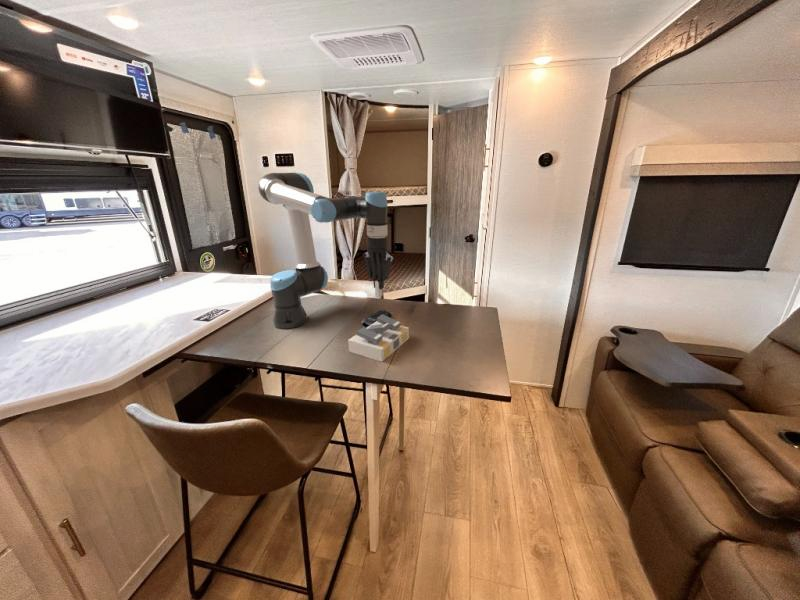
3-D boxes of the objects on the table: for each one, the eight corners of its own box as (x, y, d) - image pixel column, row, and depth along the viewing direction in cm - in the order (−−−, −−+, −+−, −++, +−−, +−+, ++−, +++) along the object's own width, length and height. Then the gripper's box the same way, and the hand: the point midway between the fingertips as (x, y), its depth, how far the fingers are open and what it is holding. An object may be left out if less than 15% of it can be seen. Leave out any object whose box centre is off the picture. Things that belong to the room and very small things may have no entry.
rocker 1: (356, 334, 116) (356, 330, 115) (363, 330, 119) (363, 326, 118) (376, 343, 112) (376, 339, 111) (382, 339, 115) (382, 335, 115)
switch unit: (349, 351, 119) (347, 337, 117) (378, 330, 135) (378, 317, 132) (382, 362, 111) (381, 346, 109) (409, 338, 127) (409, 324, 125)
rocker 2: (367, 333, 122) (366, 328, 121) (373, 329, 125) (372, 324, 125) (385, 331, 117) (384, 326, 116) (391, 327, 120) (389, 322, 119)
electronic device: (376, 317, 152) (357, 325, 140) (377, 306, 150) (358, 313, 138) (392, 323, 148) (374, 332, 135) (394, 312, 146) (375, 320, 134)
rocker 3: (376, 321, 126) (377, 317, 125) (382, 317, 129) (382, 313, 128) (395, 330, 123) (395, 326, 122) (400, 326, 126) (400, 322, 125)
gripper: (356, 236, 114) (360, 296, 123) (386, 239, 108) (387, 302, 117) (368, 233, 120) (370, 290, 129) (397, 236, 114) (397, 296, 123)
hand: (378, 296), depth 123 cm, fingers closed
